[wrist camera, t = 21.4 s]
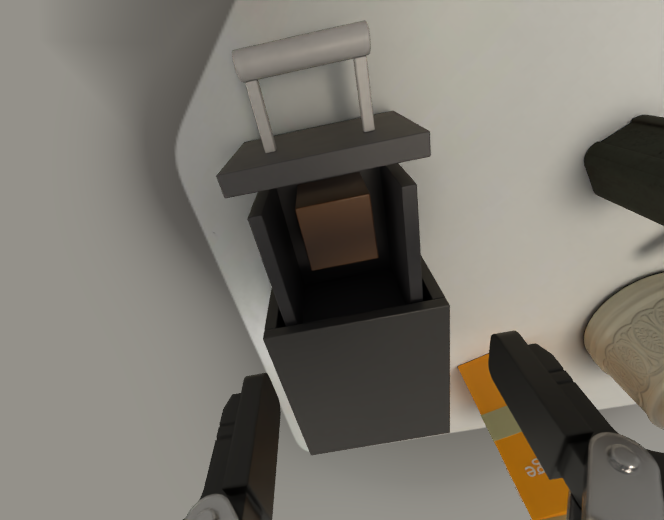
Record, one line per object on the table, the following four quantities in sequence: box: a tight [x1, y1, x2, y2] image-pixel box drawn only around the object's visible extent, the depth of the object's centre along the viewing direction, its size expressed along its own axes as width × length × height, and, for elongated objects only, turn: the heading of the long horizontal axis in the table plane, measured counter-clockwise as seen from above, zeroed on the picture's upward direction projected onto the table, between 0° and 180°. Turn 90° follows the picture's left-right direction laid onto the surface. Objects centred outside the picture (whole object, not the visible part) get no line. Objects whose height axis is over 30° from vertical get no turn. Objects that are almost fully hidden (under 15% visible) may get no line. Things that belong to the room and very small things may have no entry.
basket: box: [216, 20, 431, 327], centre depth 21 cm, size 17×10×8 cm, turn 11°
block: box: [295, 172, 379, 271], centre depth 22 cm, size 4×4×4 cm
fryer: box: [263, 256, 450, 455], centre depth 28 cm, size 14×12×10 cm
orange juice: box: [458, 354, 569, 520], centre depth 30 cm, size 8×9×20 cm
